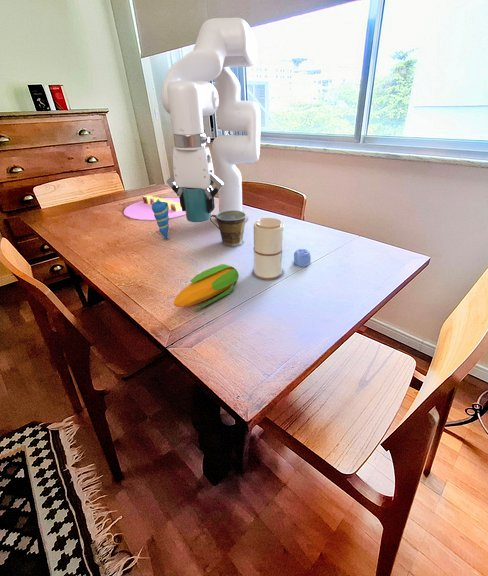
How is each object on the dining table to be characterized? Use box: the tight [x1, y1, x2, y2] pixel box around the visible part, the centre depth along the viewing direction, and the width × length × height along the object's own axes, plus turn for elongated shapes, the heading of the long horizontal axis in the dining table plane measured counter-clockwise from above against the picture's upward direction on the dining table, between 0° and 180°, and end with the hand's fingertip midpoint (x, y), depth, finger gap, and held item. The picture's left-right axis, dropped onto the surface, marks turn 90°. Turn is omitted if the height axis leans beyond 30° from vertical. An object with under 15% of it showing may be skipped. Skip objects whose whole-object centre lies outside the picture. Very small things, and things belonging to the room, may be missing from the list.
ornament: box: [152, 197, 170, 240], centre depth 103 cm, size 5×5×15 cm
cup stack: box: [253, 217, 285, 281], centre depth 83 cm, size 8×8×15 cm
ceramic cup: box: [209, 210, 247, 247], centre depth 102 cm, size 13×10×10 cm
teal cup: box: [182, 187, 212, 223], centre depth 83 cm, size 7×7×9 cm
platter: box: [123, 194, 186, 221], centre depth 137 cm, size 32×32×3 cm
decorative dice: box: [293, 248, 311, 267], centre depth 90 cm, size 4×4×4 cm
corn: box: [172, 263, 240, 312], centre depth 74 cm, size 7×8×20 cm
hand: (198, 210), depth 84 cm, fingers closed on teal cup, 7 cm apart
